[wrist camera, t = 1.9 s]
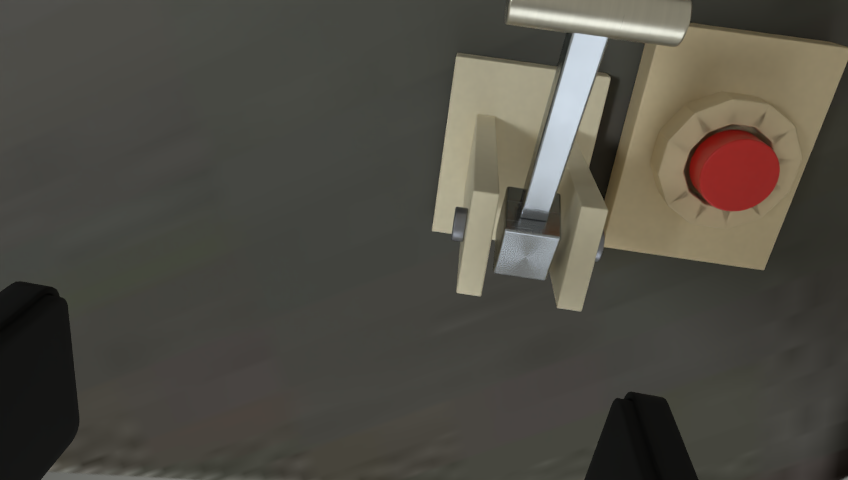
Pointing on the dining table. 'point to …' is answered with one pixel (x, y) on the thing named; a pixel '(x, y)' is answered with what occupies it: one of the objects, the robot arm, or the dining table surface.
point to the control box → (705, 116)
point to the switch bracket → (515, 169)
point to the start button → (734, 170)
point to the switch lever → (569, 112)
